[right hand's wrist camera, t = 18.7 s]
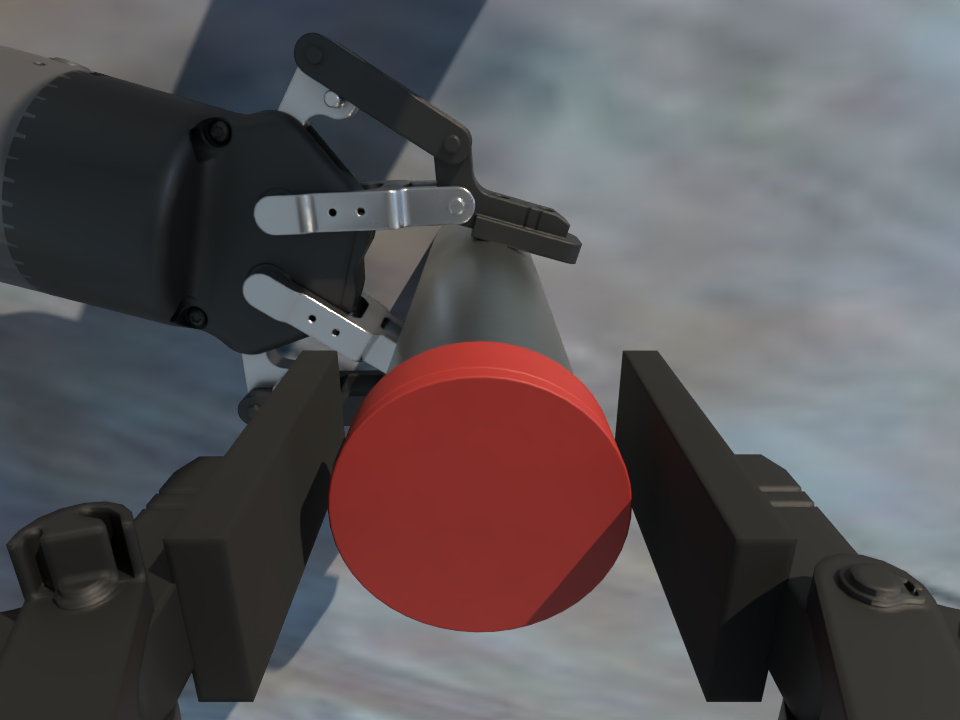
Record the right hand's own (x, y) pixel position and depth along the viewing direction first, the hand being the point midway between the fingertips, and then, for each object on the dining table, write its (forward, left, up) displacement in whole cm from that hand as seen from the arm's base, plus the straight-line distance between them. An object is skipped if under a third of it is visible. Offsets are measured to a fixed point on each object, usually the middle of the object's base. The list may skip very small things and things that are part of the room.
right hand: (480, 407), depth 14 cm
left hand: (-1, -2, -9) cm, 10 cm away
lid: (0, 0, +4) cm, 4 cm away
